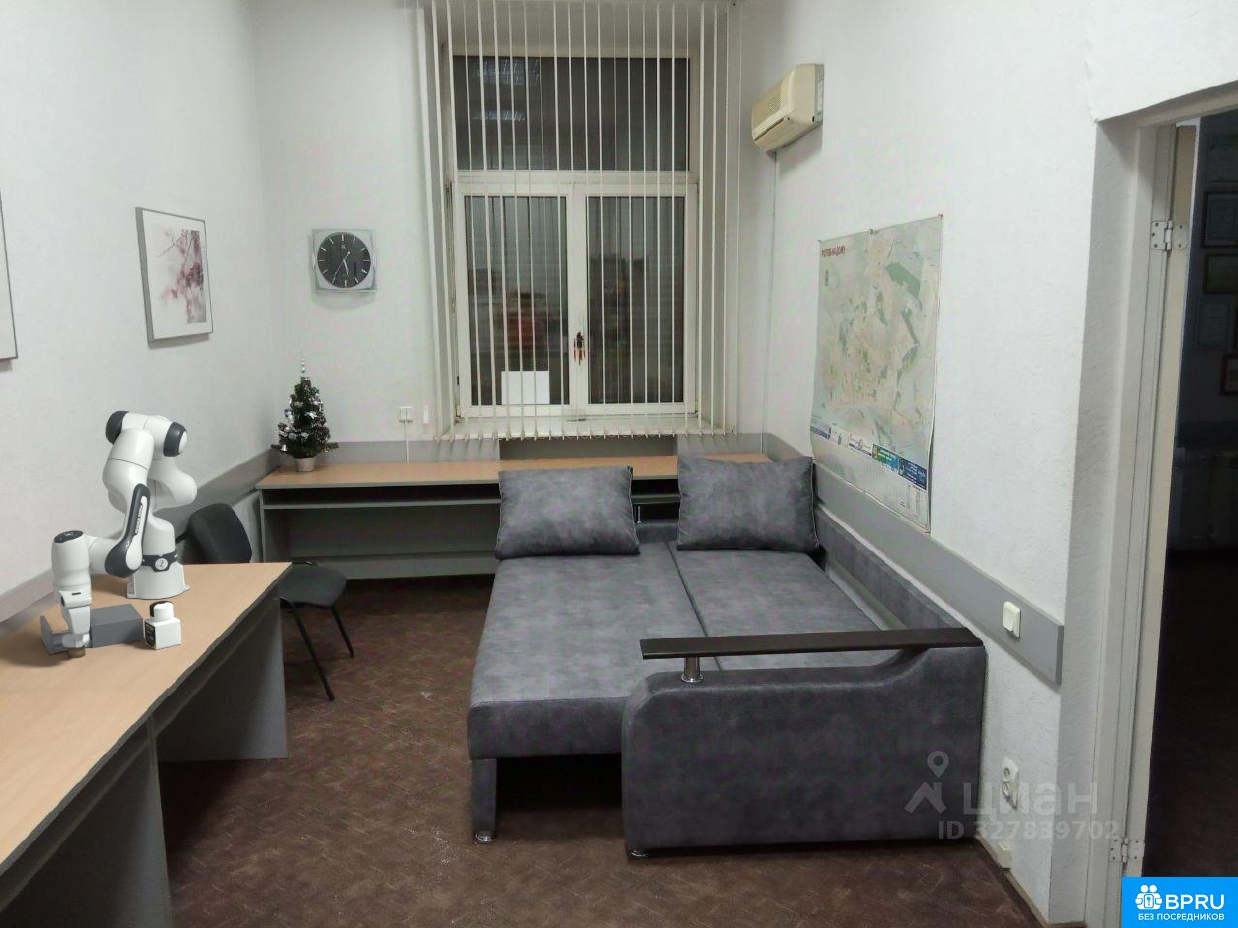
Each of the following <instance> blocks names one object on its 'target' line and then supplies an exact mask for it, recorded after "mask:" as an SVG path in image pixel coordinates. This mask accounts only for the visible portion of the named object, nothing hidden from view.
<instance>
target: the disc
mask: <svg viewBox="0 0 1238 928" xmlns="http://www.w3.org/2000/svg"><path fill="white" fill-rule="evenodd" d="M74 640H75V639H74V635H73V633H70V634H66V635H64V636H63V637H62V645H63V646H64V647H76V646H75V643H74ZM89 642H90V639H89V633H88V634H86V635H84V636H83V645H86V644H88V643H89Z"/></svg>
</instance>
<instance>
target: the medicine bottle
mask: <svg viewBox="0 0 1238 928" xmlns="http://www.w3.org/2000/svg"><path fill="white" fill-rule="evenodd" d="M148 608H149V618H146V619H143V627H144V640H145V641H144V642H145V645H147V646H149V647H151V648H152V649H154V650H155V651H157V650H163V649H167V648H171V647H175V646H180V645H182V630H181V620H180V619H179V618H177V617H175V611H174V603H173V602H172V601H168V600H160V601H155V602H152V603H150V605H149V607H148Z"/></svg>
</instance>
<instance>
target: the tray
mask: <svg viewBox="0 0 1238 928" xmlns="http://www.w3.org/2000/svg"><path fill="white" fill-rule="evenodd" d="M39 623H40V637H41V640H42V642H43V644H44V646H45V648H46V650H47V651H48V652H47V653H49V655H50V656H51V655H55V653H56V654H57V653H59V652H68V647H64V646H63V645H62V637H63V636H64V635H66V634H69V630H65V631H58V632H53V629H52V628H51V625H50V623H49V622H48V620H47V618H46V616H45V615H43V614H42V615H39ZM89 639H90V642H89V643H88V644H86V645H85V648H89V647H90V648H91V647H92V633H91V627H90V629H89Z"/></svg>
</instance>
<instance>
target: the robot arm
mask: <svg viewBox="0 0 1238 928" xmlns="http://www.w3.org/2000/svg"><path fill="white" fill-rule="evenodd" d="M104 430H105V432H104V433H105V438H106V440H107V442H109V443H110V444H112V445H111V446H112V447H111V448H110V451H109V454H108V456H107V459H106V461H105V465H104V467H103V471H102V476H101V477H102V478H101V480H102V483H103V485H104V487H105V488H106V489H107V498H108V500H109V501H108V502H109V503H110V504H111V506H112V507H113V508H114V509H115V510H117V511H119V512H121V513H122V514H123V515H124V518H123V525H122V529H121V535H120V536H119V538H117V539H114V538H107V537H100V536H95V535H94V536H93V535H90V534H86V533H85V532H84V531H82V530H78V529H77V530H76V529H75V530H74V529H73V530H68V531H67V530H66V531H64V532H60V533H59V534H57V535H55V536H54V538H53V539H52V543H51V549H50V550H51V551H50V557H51V558H50V560H51V561H50V562H51V569H52V571H53V581H52V587H53V588H52V589H53V601H54V602H55V603H57V604H58V603H59V606H60V611H61V617H62V619H63V621H64V622H65V623H66V625H67V629H68V631H69V634H70V633H73V635H74V639H75V640H74V643H75V646H76V647H82V646H83V636H84V635H86V634H88V633H89V629H90V609H91V607H90V606H92V604H93V595H92V578H91V576H90V575H91V574H94V573H95V574H100V575H101V574H102V575H109V576H111V577H116V578H121V579H126V578H127V579H128V583H126V598H128V599H141V600H158V599H167V598H172V597H175V596H179V595H180V594H182V593H184V592H186V591H189V590H190V589H191V587H190V585H189V584H187V583H185V578H184V577H185V575H184V567H183V565H182V563H180V562H178V556H179V555H178V550H177V548H176V538H175V527H174V525H173V524H172V523H171V522H170V521H168V520H165V519H163V518H160V517H157V516H155V515H154V514H153V510H158V509H171V508H178V507H183V506H186V505H190V504H193V502H194V501H195V499H196V497H197V495H198V486H197V483H196V481H195V479H194V478H193V477H192V476H191V475H190V474H188V473H185V472H183V471H182V470H180V469H179V468H178V466H177V464H176V459H175V458H176V457H177V456H179V455H181V454H182V452H183V451H184V449H185V448H186V445H187V443H188V431H187V428H185V426H184V425H183V424H181V423H179V422H177V421H171V420H170V419H168V418H167V417H166V416H163V415H160V414H152V415H149V414H144V413H139V412H138V413H137V412H130V411H129V410H117V411H114V412H113V413H111V414H110V416H109V418H108V419H107V421H106V423H105V428H104ZM129 581H130V582H129Z"/></svg>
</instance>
